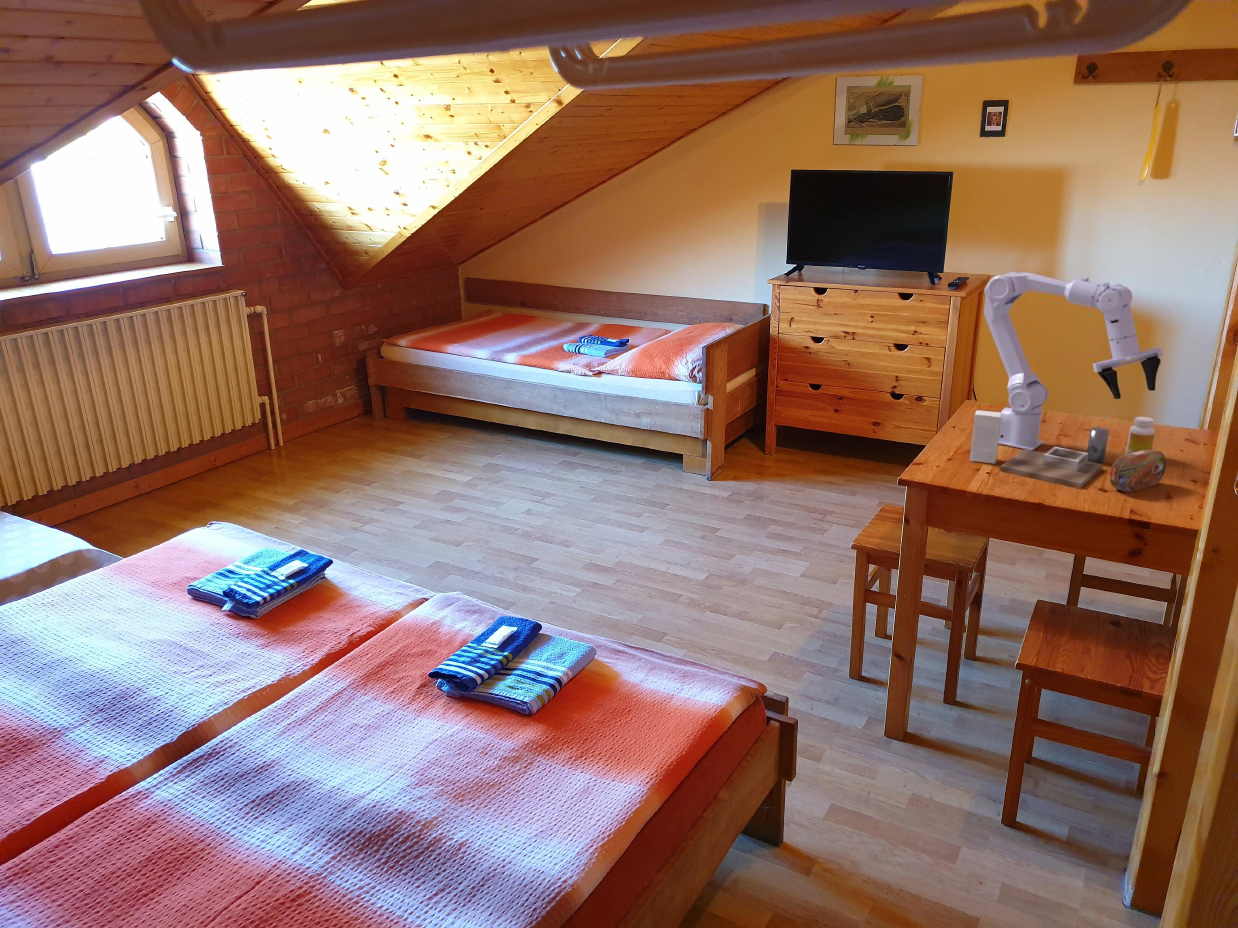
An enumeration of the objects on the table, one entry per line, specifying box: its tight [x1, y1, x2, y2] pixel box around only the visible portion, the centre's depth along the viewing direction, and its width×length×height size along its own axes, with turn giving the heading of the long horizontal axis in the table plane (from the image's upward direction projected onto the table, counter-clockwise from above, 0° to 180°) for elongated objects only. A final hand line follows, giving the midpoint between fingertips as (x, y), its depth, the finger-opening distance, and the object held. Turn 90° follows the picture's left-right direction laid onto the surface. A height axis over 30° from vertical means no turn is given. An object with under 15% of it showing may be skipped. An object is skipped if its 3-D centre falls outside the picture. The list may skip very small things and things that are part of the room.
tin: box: [1109, 449, 1167, 493], centre depth 204 cm, size 15×3×8 cm, turn 114°
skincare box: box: [969, 409, 1002, 465], centre depth 222 cm, size 6×4×12 cm
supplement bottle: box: [1124, 416, 1156, 455], centre depth 223 cm, size 5×5×10 cm
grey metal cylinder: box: [1086, 427, 1110, 465], centre depth 221 cm, size 4×4×8 cm
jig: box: [999, 446, 1103, 489], centre depth 216 cm, size 18×16×4 cm
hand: (1134, 394), depth 213 cm, fingers open, 7 cm apart
